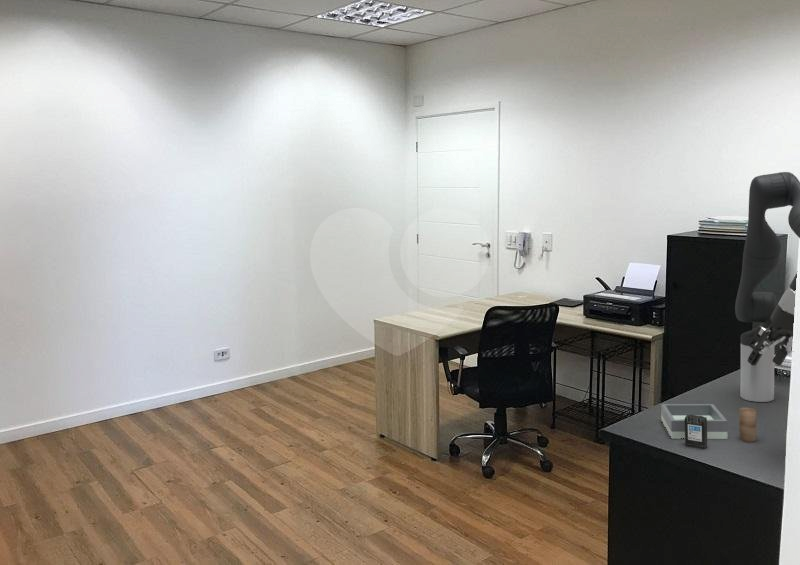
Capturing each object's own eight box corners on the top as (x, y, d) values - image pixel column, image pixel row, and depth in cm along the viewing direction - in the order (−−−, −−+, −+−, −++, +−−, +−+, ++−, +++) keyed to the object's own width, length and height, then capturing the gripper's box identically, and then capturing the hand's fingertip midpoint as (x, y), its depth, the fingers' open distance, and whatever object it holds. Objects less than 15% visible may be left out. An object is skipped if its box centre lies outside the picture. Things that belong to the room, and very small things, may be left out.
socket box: (661, 420, 194) (661, 404, 193) (713, 421, 191) (713, 404, 191) (671, 438, 181) (671, 420, 180) (727, 439, 178) (727, 421, 177)
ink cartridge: (685, 446, 175) (684, 416, 174) (687, 443, 177) (686, 414, 176) (705, 449, 172) (704, 419, 171) (707, 446, 174) (706, 416, 173)
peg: (737, 436, 179) (737, 407, 178) (753, 436, 178) (753, 407, 177) (741, 442, 175) (742, 412, 174) (758, 442, 175) (758, 412, 174)
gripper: (804, 301, 165) (772, 354, 173) (762, 299, 160) (731, 354, 168) (829, 317, 159) (795, 372, 167) (786, 316, 154) (753, 373, 161)
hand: (763, 363), depth 167 cm, fingers open, 8 cm apart
